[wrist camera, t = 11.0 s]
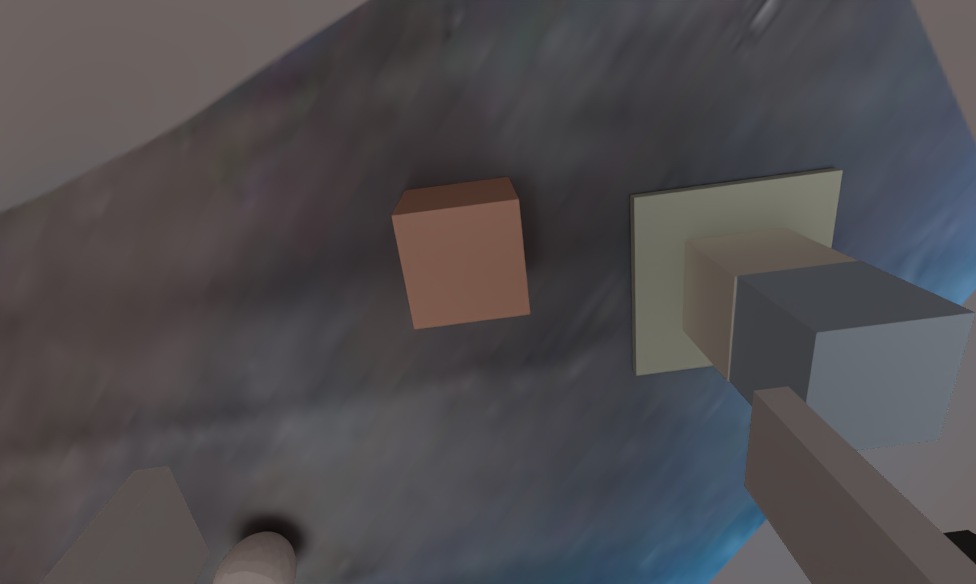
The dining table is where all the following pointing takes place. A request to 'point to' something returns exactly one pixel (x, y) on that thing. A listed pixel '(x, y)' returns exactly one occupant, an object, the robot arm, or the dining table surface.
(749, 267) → the block
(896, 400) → the block
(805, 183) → the plate
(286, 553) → the egg
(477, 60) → the dining table surface
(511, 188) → the block
